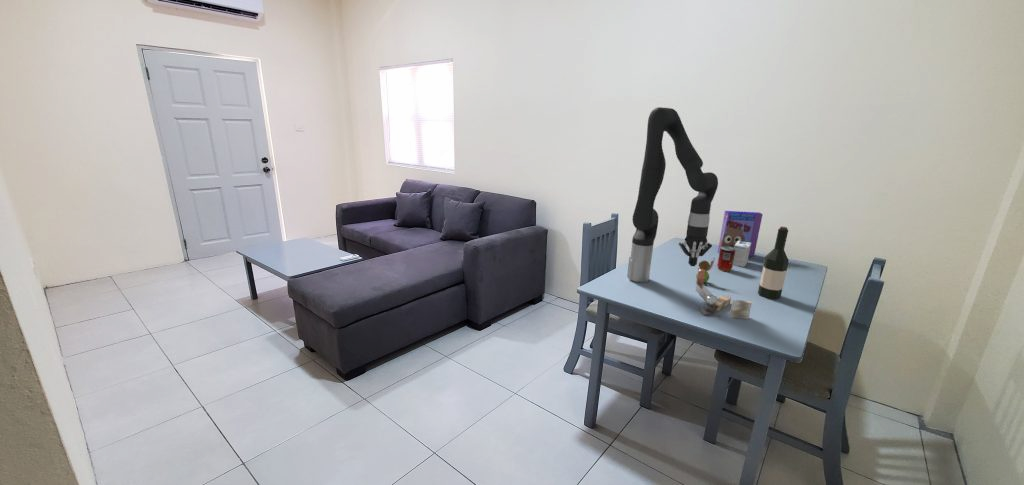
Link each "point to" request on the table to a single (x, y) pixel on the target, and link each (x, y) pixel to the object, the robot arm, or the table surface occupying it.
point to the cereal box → (740, 229)
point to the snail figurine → (705, 268)
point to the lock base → (737, 309)
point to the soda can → (726, 258)
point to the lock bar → (704, 289)
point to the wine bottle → (774, 268)
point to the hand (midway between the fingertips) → (692, 265)
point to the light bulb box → (741, 253)
